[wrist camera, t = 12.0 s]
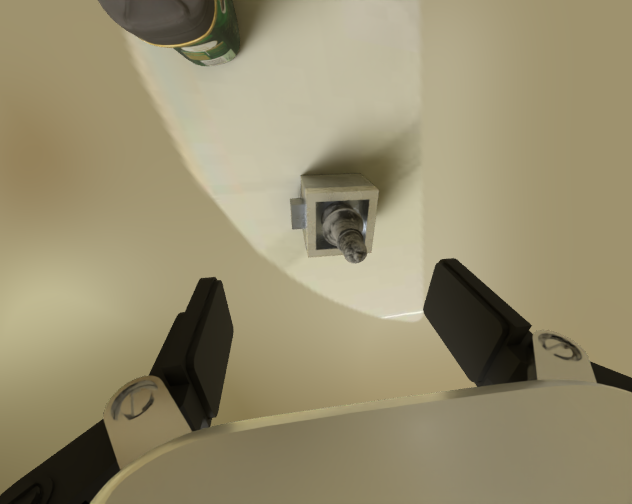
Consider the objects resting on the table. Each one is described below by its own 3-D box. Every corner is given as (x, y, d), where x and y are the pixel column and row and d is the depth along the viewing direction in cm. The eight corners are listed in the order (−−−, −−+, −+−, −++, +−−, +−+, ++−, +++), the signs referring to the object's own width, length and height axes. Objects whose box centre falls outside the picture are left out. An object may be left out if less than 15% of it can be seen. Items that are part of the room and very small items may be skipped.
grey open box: (288, 175, 41) (290, 194, 33) (360, 173, 42) (379, 189, 34) (292, 245, 47) (295, 274, 39) (354, 241, 49) (369, 268, 41)
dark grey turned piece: (330, 241, 40) (347, 289, 30) (312, 212, 37) (324, 254, 27) (363, 223, 39) (392, 266, 29) (347, 192, 36) (373, 227, 26)
